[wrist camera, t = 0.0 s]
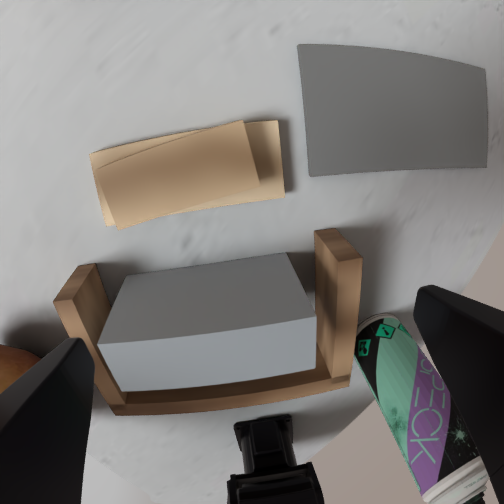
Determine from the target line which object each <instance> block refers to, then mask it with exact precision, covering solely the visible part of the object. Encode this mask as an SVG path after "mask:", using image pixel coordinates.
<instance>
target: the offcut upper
mask: <svg viewBox="0 0 504 504" xmlns="http://www.w3.org/2000/svg"><path fill="white" fill-rule="evenodd" d="M95 171H96V174H97V177H98V180H99V182H100V185H101V188H102V191H103V193H104V196H105V199H106V201H107V204H108V206H109V209H110V212H111V214H112V217H113V219H114V222H115V224H116V227H117V229H118V230H121V229H124V228H127V227H130V226H133V225H136V224H139V223H142V222H145V221H148V220H151V219H154V218H157V217H160V216H163V215H167V214H170V213H173V212H176V211H179V210H182V209H186V208H189V207H192V206H195V205H199V204H202V203H205V202H209V201H212V200H215V199H219V198H222V197H226V196H229V195H233V194H236V193H240V192H243V191H247V190H250V189H254V188H258V187H261V186H260V183H259V179H258V175H257V171H256V167H255V164H254V160H253V156H252V152H251V148H250V145H249V141H248V137H247V134H246V130H245V126H244V123H243V120H238V121H234V122H230V123H227V124H223V125H220V126H216V127H213V128H209V129H206V130H202V131H199V132H196V133H193V134H189V135H186V136H183V137H180V138H177V139H174V140H171V141H168V142H165V143H162V144H159V145H156V146H154V147H151V148H148V149H145V150H142V151H140V152H137V153H134V154H132V155H129V156H127V157H124V158H121V159H119V160H116V161H114V162H111V163H109V164H106V165H104V166H102V167H100V168H98V169H96V170H95Z"/></svg>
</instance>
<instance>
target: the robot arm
mask: <svg viewBox="0 0 504 504" xmlns="http://www.w3.org/2000/svg"><path fill="white" fill-rule="evenodd" d="M413 316H414V320H415V322H416V325H417V327H418V329H419V331H420V333H421V336H422V338H423V340H424V342H425V344H426V347H427V349H428V351H429V354H430V356H431V358H432V360H433V362H434V364H435V366H436V368H437V370H438V372H439V374H440V375H441V377H442V379H443V381H444V383H445V385H446V387H447V389H448V390H449V392H450V394H451V396H452V398H453V400H454V402H455V404H456V406H457V408H458V410H459V412H460V414H461V416H462V418H463V420H464V422H465V424H466V426H467V428H468V430H469V432H470V435H471V437H472V439H473V441H474V443H475V445H476V448H477V450H478V452H479V454H480V457H481V459H482V461H483V464H484V466H485V468H486V471H487V473H488V476H489V477H490V481H491V483H492V486H493V489H494V491H495V494H496V496H497V499H498V502H499V504H504V311H501V310H499V309H496V308H493V307H491V306H488V305H486V304H483V303H480V302H478V301H475V300H473V299H470V298H467V297H465V296H462V295H459V294H457V293H454V292H451V291H449V290H446V289H443V288H440V287H438V286H435V285H427V286H423V287H420V288H419V290H418V292H417V297H416V302H415V307H414V312H413ZM94 375H95V363H94V360H93V358H92V356H91V354H90V352H89V350H88V348H87V346H86V344H85V342H84V340H83V339H82V338H80V337H75V338H67V339H66V340H65V341H63V342H62V343H61V344H60V345H58V346H57V347H56V348H55V349H53V350H52V351H51V352H50V353H48V354H47V355H46V356H45V357H44V358H42V359H41V360H40V361H39V362H37V363H36V364H35V365H34V366H33V367H31V368H30V369H29V370H28V371H27V372H25V373H24V374H23V375H22V376H21V377H19V378H18V379H17V380H16V381H15V382H14V383H12V384H11V385H10V386H9V387H8V388H7V389H5V390H4V391H3V392H2V393H1V394H0V504H81V494H82V483H83V473H84V464H85V456H86V448H87V441H88V434H89V428H90V421H91V413H92V399H93V386H94ZM234 431H235V434H236V438H237V441H238V444H239V448H240V451H241V452H242V455H243V463H244V471H245V474H239V475H236V474H232V475H230V478H231V479H230V480H229V481H227V489H228V499H227V504H324V498H323V494H322V490H321V487H320V484H319V481H318V478H317V476H316V473H315V470H314V467H313V465H312V462H307V463H306V464H302V465H297V463H296V458H295V454H294V450H293V446H292V443H293V429H292V417H291V416H289V415H288V416H282V417H276V418H271V419H264V420H258V421H251V422H244V423H237V424H234Z"/></svg>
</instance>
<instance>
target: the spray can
mask: <svg viewBox="0 0 504 504" xmlns="http://www.w3.org/2000/svg"><path fill="white" fill-rule="evenodd" d="M354 358H355V360H356V362H357V364H358V366H359V367H360V369H361V371H362V373H363V375H364V377H365V379H366V381H367V383H368V385H369V387H370V389H371V391H372V393H373V395H374V397H375V399H376V401H377V403H378V405H379V407H380V409H381V411H382V413H383V415H384V417H385V419H386V421H387V423H388V425H389V427H390V429H391V432H392V433H393V436H394V438H395V440H396V442H397V444H398V446H399V448H400V450H401V452H402V455H403V457H404V459H405V461H406V463H407V465H408V467H409V470H410V472H411V474H412V476H413V478H414V481H415V483H416V485H417V487H418V489H419V491H420V494H421V496H422V498H423V501H424V502H427V503H428V504H485V501H484V500H483V498H482V497H483V496H484V493H483V492H484V491H485V490H486V489H487V487H486V486H485V484H486V482H487V481H488V479H489V476H488V473H487V471H486V468H485V466H484V464H483V461H482V459H481V457H480V454H479V452H478V450H477V448H476V445H475V443H474V441H473V439H472V437H471V435H470V432H469V430H468V428H467V426H466V424H465V422H464V420H463V418H462V416H461V414H460V412H459V410H458V408H457V406H456V404H455V402H454V400H453V398H452V396H451V394H450V392H449V390H448V389H447V387H446V385H445V383H444V381H443V380H442V378H441V377H440V375H439V374H438V373H437V371H436V370H435V368H434V367H433V366H432V364H431V363H430V361H429V360H428V359H427V357H426V356H425V355H424V353H423V352H422V350H421V349H420V348H419V346H418V345H417V344H416V342H415V341H414V340H413V338H412V337H411V336H410V334H409V333H408V332H407V330H406V329H405V328H404V326H403V325H402V324H401V322H400V321H399V320H398V319H397V318H396V317H395V316H394V315H391V314H387V313H384V314H378V315H375V316H372V317H370V318H368V319H367V320H365V321H364V322H362V323H361V324H360V325H359V326H358V327H357V332H356V340H355V348H354Z"/></svg>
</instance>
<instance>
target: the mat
mask: <svg viewBox="0 0 504 504" xmlns="http://www.w3.org/2000/svg"><path fill="white" fill-rule="evenodd" d="M297 49H298V58H299V66H300V75H301V84H302V94H303V105H304V116H305V127H306V140H307V154H308V168H309V176H310V177H316V176H327V175H338V174H350V173H363V172H378V171H394V170H414V169H442V168H487V148H488V106H487V87H486V74H485V69H483V68H479V67H475V66H472V65H468V64H464V63H460V62H456V61H452V60H447V59H442V58H438V57H433V56H427V55H422V54H416V53H410V52H404V51H397V50H389V49H380V48H371V47H360V46H345V45H322V44H299V45H297Z"/></svg>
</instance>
